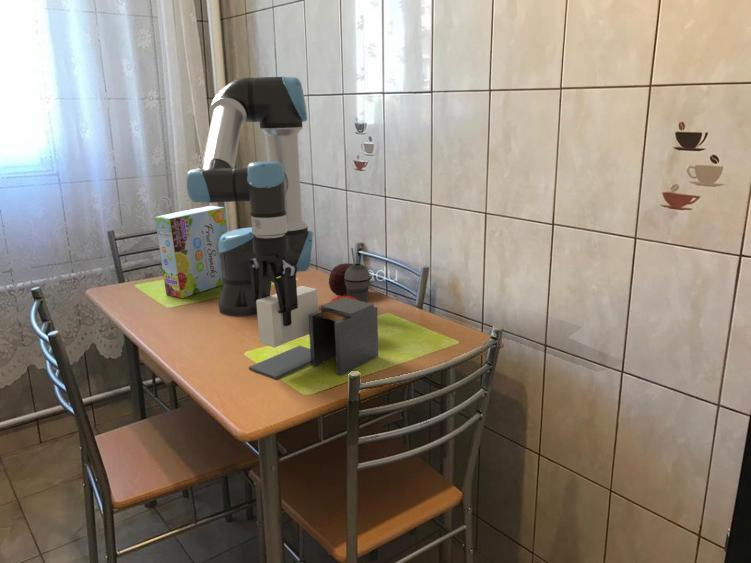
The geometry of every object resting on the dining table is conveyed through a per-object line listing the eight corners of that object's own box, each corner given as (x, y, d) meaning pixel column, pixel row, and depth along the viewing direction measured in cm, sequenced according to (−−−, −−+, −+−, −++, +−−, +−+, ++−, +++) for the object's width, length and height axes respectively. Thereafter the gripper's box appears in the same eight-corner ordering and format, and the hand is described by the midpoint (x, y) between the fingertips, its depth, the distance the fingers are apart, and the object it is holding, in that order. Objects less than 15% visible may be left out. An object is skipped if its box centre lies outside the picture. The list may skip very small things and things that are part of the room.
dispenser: (311, 365, 144) (308, 310, 140) (349, 347, 154) (347, 295, 150) (340, 375, 138) (338, 318, 134) (378, 356, 148) (377, 303, 144)
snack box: (216, 278, 216) (209, 204, 209) (233, 282, 211) (227, 206, 204) (163, 294, 199) (153, 215, 192) (180, 299, 194) (171, 217, 187)
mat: (249, 369, 142) (248, 366, 142) (299, 347, 154) (299, 345, 154) (275, 379, 137) (275, 377, 137) (326, 356, 149) (326, 354, 149)
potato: (376, 295, 194) (375, 263, 191) (339, 304, 186) (338, 270, 184) (357, 287, 202) (356, 256, 199) (321, 295, 195) (320, 263, 192)
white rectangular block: (259, 342, 141) (256, 300, 138) (304, 325, 151) (302, 285, 148) (274, 347, 138) (271, 304, 135) (319, 329, 148) (317, 289, 145)
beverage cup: (368, 323, 170) (366, 251, 165) (342, 321, 172) (339, 251, 166) (373, 314, 177) (372, 245, 171) (348, 313, 178) (346, 244, 173)
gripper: (229, 232, 137) (237, 332, 144) (285, 242, 126) (292, 349, 133) (255, 227, 143) (262, 323, 149) (312, 236, 132) (317, 339, 138)
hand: (276, 335), depth 141 cm, fingers closed on white rectangular block, 5 cm apart
